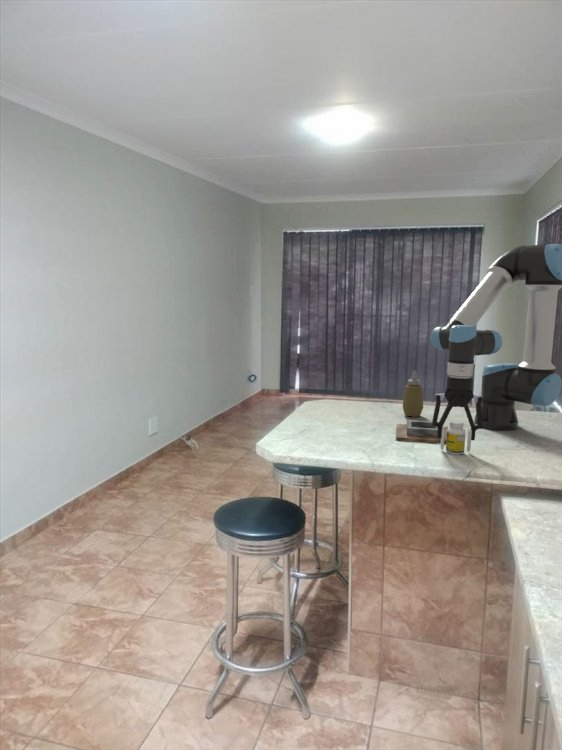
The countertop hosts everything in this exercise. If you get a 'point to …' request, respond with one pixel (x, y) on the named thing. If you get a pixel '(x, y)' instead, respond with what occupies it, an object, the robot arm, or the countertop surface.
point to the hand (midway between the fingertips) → (455, 449)
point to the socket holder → (419, 432)
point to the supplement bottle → (455, 438)
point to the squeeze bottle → (413, 397)
